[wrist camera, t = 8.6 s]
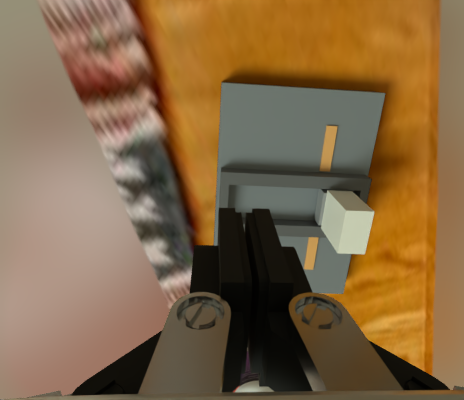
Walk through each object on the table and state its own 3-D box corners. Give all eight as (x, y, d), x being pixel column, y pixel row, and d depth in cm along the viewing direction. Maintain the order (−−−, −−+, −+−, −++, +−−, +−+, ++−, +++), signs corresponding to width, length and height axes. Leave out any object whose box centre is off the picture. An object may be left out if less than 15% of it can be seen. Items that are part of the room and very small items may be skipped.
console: (221, 81, 32) (222, 83, 29) (376, 91, 33) (393, 94, 30) (212, 280, 40) (211, 298, 37) (337, 283, 41) (347, 302, 38)
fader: (319, 184, 34) (342, 210, 28) (349, 186, 34) (378, 211, 28) (313, 221, 36) (334, 253, 29) (341, 222, 36) (368, 254, 30)
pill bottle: (226, 340, 44) (229, 412, 34) (268, 333, 43) (282, 403, 34) (233, 371, 46) (238, 447, 36) (274, 365, 45) (288, 439, 36)
